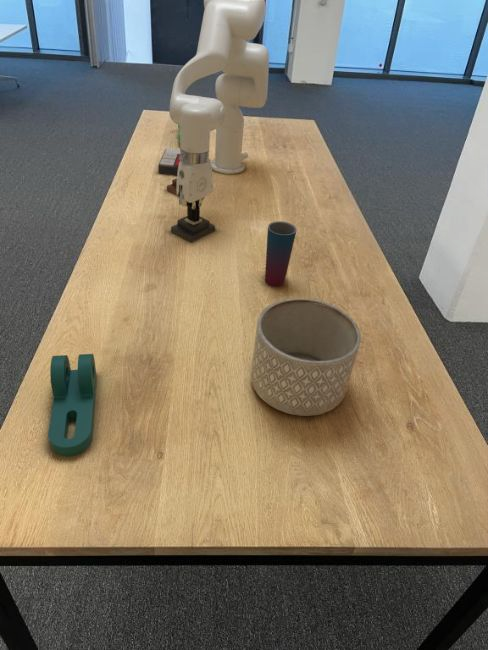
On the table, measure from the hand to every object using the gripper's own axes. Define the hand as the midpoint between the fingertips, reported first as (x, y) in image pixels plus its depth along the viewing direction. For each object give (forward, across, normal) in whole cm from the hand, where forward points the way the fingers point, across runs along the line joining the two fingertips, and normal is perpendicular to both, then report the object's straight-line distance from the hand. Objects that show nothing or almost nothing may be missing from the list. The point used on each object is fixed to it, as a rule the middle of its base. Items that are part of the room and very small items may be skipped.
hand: (193, 219), depth 142 cm
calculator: (+4, +31, +37) cm, 49 cm away
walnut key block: (+4, +19, +21) cm, 29 cm away
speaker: (+4, +54, +54) cm, 77 cm away
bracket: (+4, -64, -32) cm, 72 cm away
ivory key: (+2, 0, 0) cm, 2 cm away
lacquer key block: (+4, 0, 0) cm, 4 cm away
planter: (+4, -31, -57) cm, 65 cm away
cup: (+4, -4, -32) cm, 32 cm away
